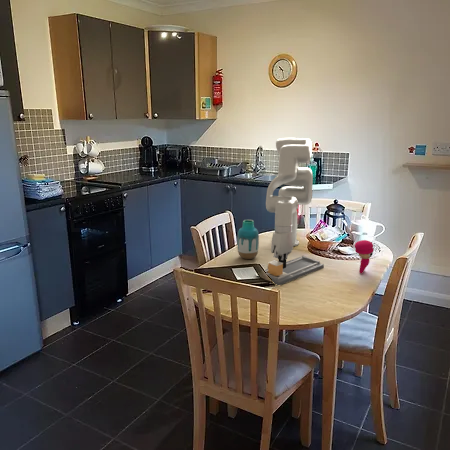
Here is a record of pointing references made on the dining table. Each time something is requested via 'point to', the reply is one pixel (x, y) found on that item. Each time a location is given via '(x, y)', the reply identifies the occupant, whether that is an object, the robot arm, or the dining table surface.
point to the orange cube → (275, 268)
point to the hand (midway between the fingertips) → (282, 267)
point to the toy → (364, 253)
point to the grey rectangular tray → (296, 269)
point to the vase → (248, 240)
